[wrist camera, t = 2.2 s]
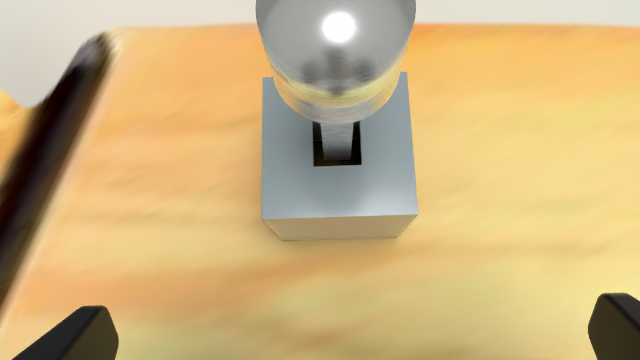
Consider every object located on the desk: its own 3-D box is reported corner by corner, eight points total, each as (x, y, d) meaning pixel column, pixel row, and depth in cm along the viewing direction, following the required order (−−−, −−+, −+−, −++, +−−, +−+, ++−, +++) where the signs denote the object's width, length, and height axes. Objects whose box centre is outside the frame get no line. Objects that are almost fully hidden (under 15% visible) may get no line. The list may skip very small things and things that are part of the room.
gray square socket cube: (397, 237, 22) (418, 214, 16) (281, 240, 22) (261, 219, 16) (389, 128, 23) (406, 71, 18) (281, 132, 24) (262, 77, 18)
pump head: (381, 186, 17) (422, 74, 9) (295, 189, 17) (254, 81, 9) (373, 58, 18) (402, -144, 10) (294, 62, 19) (257, -137, 10)
